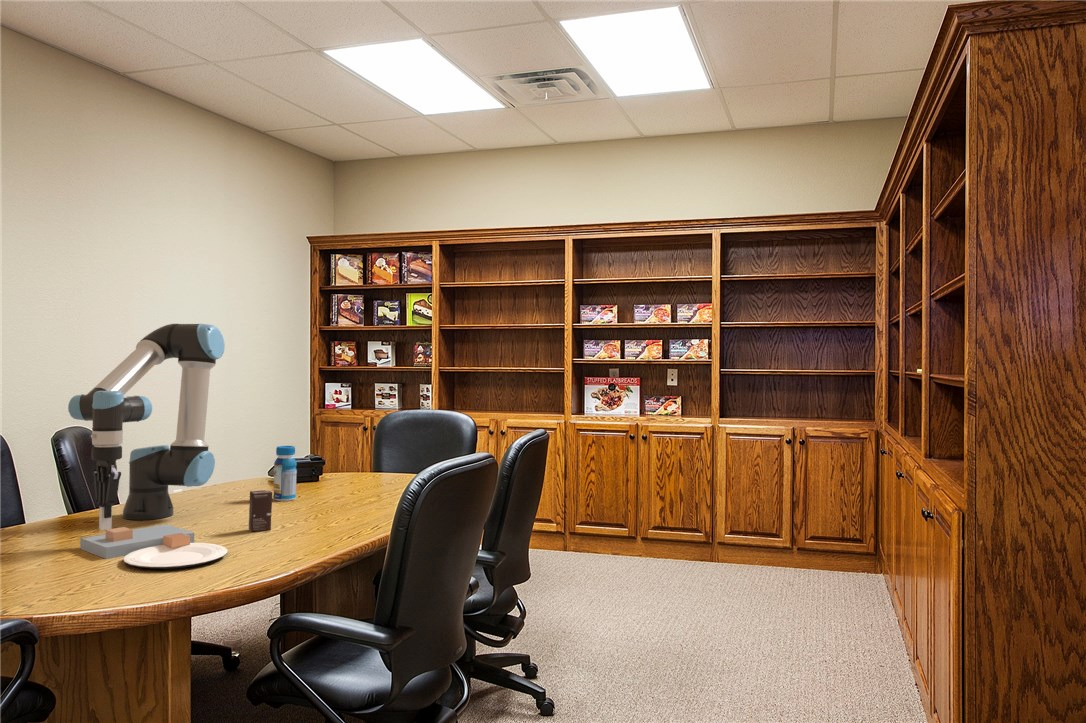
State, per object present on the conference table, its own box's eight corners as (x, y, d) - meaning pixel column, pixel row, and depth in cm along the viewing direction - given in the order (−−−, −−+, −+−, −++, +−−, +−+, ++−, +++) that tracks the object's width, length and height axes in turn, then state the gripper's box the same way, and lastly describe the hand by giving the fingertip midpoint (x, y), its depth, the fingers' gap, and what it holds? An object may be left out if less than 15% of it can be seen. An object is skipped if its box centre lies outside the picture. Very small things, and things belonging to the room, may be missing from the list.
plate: (159, 579, 187) (159, 571, 187) (103, 563, 201) (103, 556, 201) (247, 558, 209) (247, 551, 209) (191, 544, 222) (191, 538, 222)
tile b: (105, 538, 213) (105, 529, 213) (124, 535, 217) (124, 526, 217) (113, 541, 210) (113, 532, 210) (132, 538, 214) (132, 529, 214)
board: (80, 548, 213) (80, 537, 213) (166, 534, 232) (166, 524, 232) (106, 558, 204) (106, 547, 204) (194, 542, 223) (194, 532, 223)
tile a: (163, 544, 214) (163, 535, 214) (180, 541, 218) (180, 532, 218) (172, 547, 211) (172, 538, 211) (189, 544, 215) (190, 535, 215)
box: (251, 532, 237) (252, 493, 237) (248, 529, 241) (249, 491, 241) (272, 530, 241) (272, 491, 241) (268, 527, 244) (269, 489, 244)
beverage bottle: (292, 501, 288) (293, 448, 288) (269, 501, 288) (270, 447, 288) (299, 497, 297) (300, 445, 297) (277, 497, 297) (278, 445, 297)
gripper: (82, 444, 219) (81, 527, 219) (103, 448, 211) (101, 534, 211) (110, 442, 225) (109, 523, 225) (131, 446, 217) (129, 530, 217)
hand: (105, 528), depth 218 cm, fingers closed
